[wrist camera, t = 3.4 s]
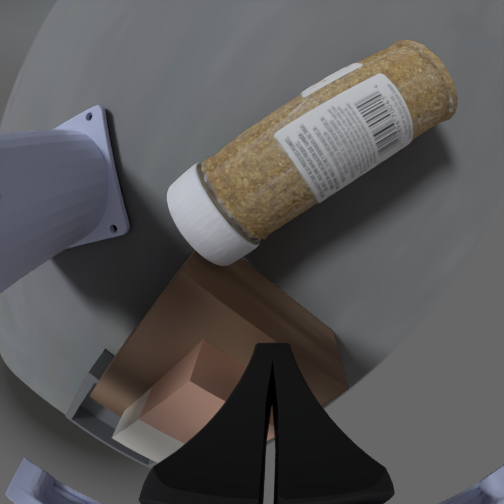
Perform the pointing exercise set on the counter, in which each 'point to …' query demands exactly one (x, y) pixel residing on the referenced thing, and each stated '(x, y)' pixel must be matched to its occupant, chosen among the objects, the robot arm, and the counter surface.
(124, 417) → the cream tile
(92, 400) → the box
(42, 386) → the counter surface
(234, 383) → the terracotta tile
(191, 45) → the counter surface
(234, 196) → the sprinkles bottle
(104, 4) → the counter surface
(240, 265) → the walnut board
